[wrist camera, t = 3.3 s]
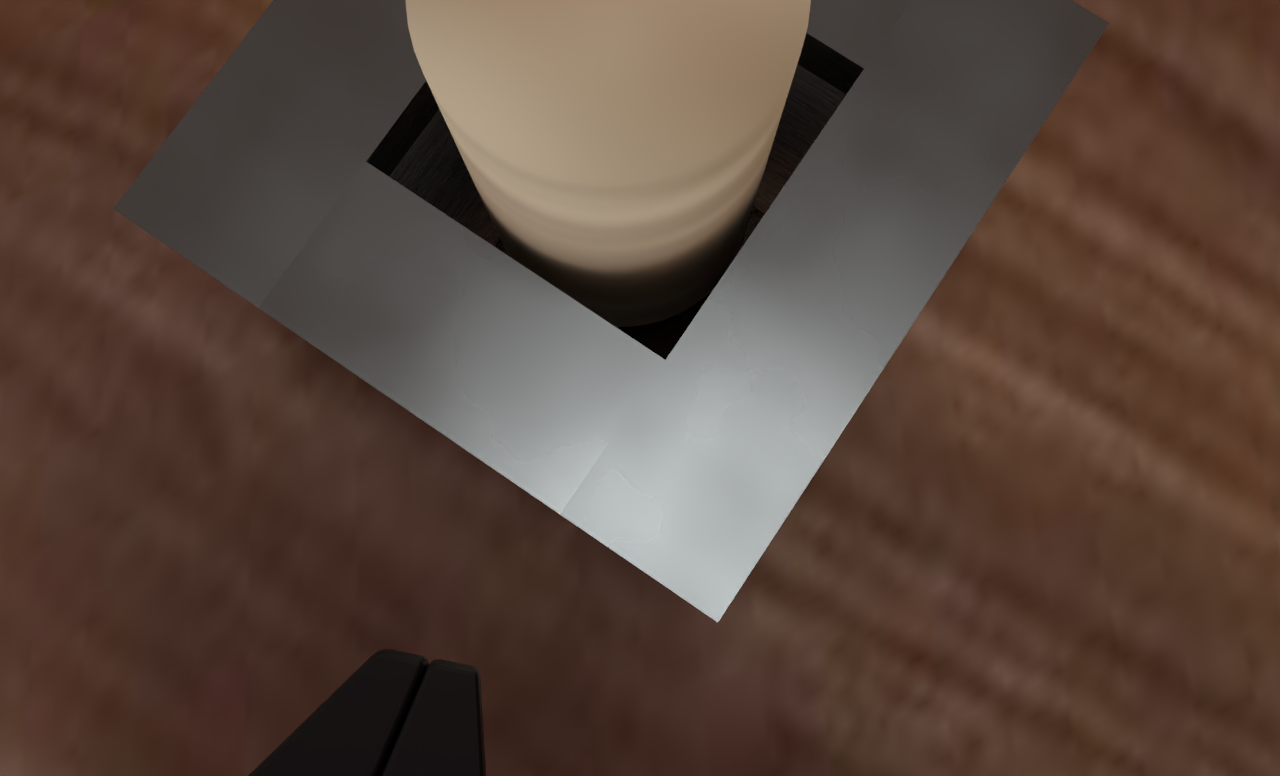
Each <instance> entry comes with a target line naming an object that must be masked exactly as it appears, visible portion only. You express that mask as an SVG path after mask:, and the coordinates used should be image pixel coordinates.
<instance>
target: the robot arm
mask: <svg viewBox="0 0 1280 776" xmlns="http://www.w3.org/2000/svg"><path fill="white" fill-rule="evenodd" d="M249 776H486V766H485V750H484V733H483V716H482V699H481V683H480V674H479V671H478V669H477V668H476V667H474V666H471V665H466V664H461V663H456V662H451V661H446V660H441V659H439V660H434V661H432V662H431V663H430V664H429V662H428V660H427V659H426V658H425V657H423V656H421V655H416V654H411V653H406V652H401V651H396V650H391V649H383V650H380V651H378V652H376V653H375V654H374V655H373V656H371V657H370V658H369V659H368V660H367V661H366V662H365V663H364V664H363V665H362V666H361V667H360V668H359V669H358V670H357V671H356V672H355V673H354V674H353V675H352V676H351V677H350V678H349V679H348V680H347V681H345V682H344V683H343V684H342V685H341V686H340V687H339V688H338V689H337V690H336V691H335V692H334V693H333V694H332V695H331V696H330V697H329V698H328V699H327V700H326V701H325V702H324V703H323V704H322V705H321V706H320V707H319V708H318V709H317V710H316V711H315V712H314V713H313V714H311V715H310V716H309V717H308V718H307V719H306V720H305V721H304V722H303V723H302V724H301V725H300V726H299V727H298V728H297V729H296V730H295V731H294V732H293V733H292V734H291V735H290V736H289V737H288V738H287V739H286V740H285V741H284V742H283V743H282V744H281V745H280V746H279V747H277V748H276V749H275V750H274V751H273V752H272V753H271V754H270V755H269V756H268V757H267V758H266V759H265V760H264V761H263V762H262V763H261V764H260V765H259V766H258V767H257V768H256V769H255V770H254V771H253V772H252V773H251V774H250V775H249Z"/></svg>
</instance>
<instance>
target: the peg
mask: <svg viewBox="0 0 1280 776" xmlns="http://www.w3.org/2000/svg"><path fill="white" fill-rule="evenodd" d="M810 5H811V0H406V11H407V21H408V28H409V32H410V36H411V40H412V44H413V48H414V52H415V54H416V57H417V59H418V62H419V64H420V67H421V69H422V72H423V74H424V76H425V78H426V81H427V83H428V85H429V87H430V89H431V91H432V94H433V96H434V98H435V100H436V102H437V104H438V107H439V109H440V111H441V113H442V115H443V117H444V119H445V122H446V124H447V126H448V128H449V130H450V132H451V135H452V137H453V139H454V141H455V143H456V145H457V148H458V150H459V152H460V154H461V156H462V158H463V161H464V163H465V165H466V167H467V169H468V171H469V173H470V176H471V178H472V180H473V182H474V184H475V186H476V189H477V191H478V193H479V195H480V197H481V199H482V202H483V204H484V206H485V208H486V210H487V212H488V214H489V217H490V219H491V221H492V223H493V225H494V227H495V230H496V232H497V234H498V236H499V238H500V240H501V243H502V245H503V247H504V249H505V251H506V253H507V255H508V256H509V257H511V258H512V259H514V260H515V261H517V262H518V263H520V264H521V265H523V266H524V267H526V268H527V269H529V270H530V271H532V272H533V273H535V274H537V275H538V276H540V277H541V278H543V279H544V280H546V281H547V282H549V283H550V284H552V285H553V286H555V287H556V288H558V289H559V290H561V291H562V292H564V293H565V294H567V295H568V296H570V297H571V298H573V299H574V300H576V301H577V302H579V303H580V304H582V305H583V306H585V307H586V308H588V309H589V310H591V311H592V312H594V313H595V314H597V315H598V316H600V317H601V318H603V319H604V320H606V321H607V322H609V323H610V324H612V325H613V326H615V327H633V326H641V325H647V324H651V323H655V322H659V321H663V320H665V319H668V318H670V317H673V316H675V315H678V314H680V313H681V312H683V311H685V310H687V309H688V308H690V307H692V306H693V305H695V304H696V303H697V302H699V301H700V300H701V299H703V298H704V297H705V296H707V295H708V294H709V293H710V292H711V291H712V290H713V289H714V288H715V287H716V285H717V284H718V282H719V281H720V279H721V278H722V276H723V275H724V273H725V272H726V270H727V269H728V268H729V266H730V265H731V263H732V262H733V260H734V259H735V257H736V256H737V254H738V251H739V249H740V246H741V244H742V241H743V238H744V235H745V231H746V228H747V225H748V222H749V219H750V215H751V212H752V209H753V206H754V202H755V199H756V196H757V193H758V190H759V186H760V183H761V180H762V177H763V173H764V170H765V167H766V164H767V160H768V157H769V154H770V151H771V148H772V144H773V141H774V138H775V135H776V131H777V128H778V125H779V122H780V119H781V115H782V112H783V109H784V106H785V102H786V99H787V96H788V93H789V90H790V86H791V83H792V80H793V77H794V73H795V70H796V67H797V64H798V61H799V57H800V54H801V51H802V47H803V43H804V39H805V36H806V32H807V28H808V21H809V13H810Z"/></svg>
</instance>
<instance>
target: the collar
mask: <svg viewBox="0 0 1280 776" xmlns="http://www.w3.org/2000/svg"><path fill="white" fill-rule="evenodd" d="M1108 24H1109V23H1108V22H1107V21H1105V20H1103V19H1102V18H1100V17H1098V16H1097V15H1095V14H1093V13H1092V12H1090V11H1088V10H1087V9H1085V8H1084V7H1082V6H1080V5H1079V4H1077V3H1075V2H1074V1H1072V0H811V5H810V13H809V21H808V28H807V32H806V36H805V39H804V43H803V47H802V51H801V54H800V57H799V61H798V64H797V67H796V70H795V73H794V77H793V80H792V83H791V86H790V90H789V93H788V96H787V99H786V102H785V106H784V109H783V112H782V115H781V119H780V122H779V125H778V128H777V131H776V135H775V138H774V141H773V144H772V148H771V151H770V154H769V157H768V160H767V164H766V167H765V170H764V173H763V177H762V180H761V183H760V186H759V190H758V193H757V196H756V199H755V202H754V206H753V207H754V208H755V209H757V210H758V211H760V212H761V213H763V214H764V216H763V218H762V219H761V221H760V222H759V224H758V225H757V226H756V228H755V229H754V231H753V232H752V234H751V235H750V237H749V238H748V240H747V241H746V243H745V244H744V246H743V247H742V248H741V250H740V251H739V253H738V254H737V256H736V257H735V259H734V260H733V262H732V263H731V265H730V266H729V268H728V269H727V270H726V272H725V273H724V275H723V276H722V278H721V279H720V281H719V282H718V284H717V285H716V287H715V288H714V289H713V291H712V292H711V294H710V295H709V297H708V298H707V300H706V301H705V303H704V304H703V306H702V307H701V309H700V310H699V311H698V313H697V314H696V316H695V317H694V319H693V320H692V322H691V323H690V325H689V326H688V328H687V329H686V331H685V332H684V333H683V335H682V336H681V338H680V339H679V341H678V342H677V344H676V345H675V347H674V348H673V350H672V351H671V353H670V354H669V355H668V357H667V358H666V360H665V359H663V358H662V357H660V356H659V355H657V354H656V353H654V352H653V351H651V350H650V349H648V348H647V347H645V346H644V345H642V344H641V343H639V342H637V341H636V340H634V339H633V338H631V337H630V336H628V335H627V334H625V333H624V332H622V331H621V330H619V329H618V328H616V327H615V326H613V325H612V324H610V323H609V322H607V321H606V320H604V319H603V318H601V317H600V316H598V315H597V314H595V313H594V312H592V311H591V310H589V309H588V308H586V307H585V306H583V305H582V304H580V303H579V302H577V301H576V300H574V299H573V298H571V297H570V296H568V295H567V294H565V293H564V292H562V291H561V290H559V289H558V288H556V287H555V286H553V285H552V284H550V283H549V282H547V281H546V280H544V279H543V278H541V277H540V276H538V275H537V274H535V273H533V272H532V271H530V270H529V269H527V268H526V267H524V266H523V265H521V264H520V263H518V262H517V261H515V260H514V259H512V258H511V257H509V256H508V255H506V254H505V253H503V252H502V251H500V250H499V249H497V248H496V247H495V245H496V244H497V242H498V241H499V240H500V238H499V236H498V234H497V232H496V230H495V227H494V225H493V223H492V221H491V219H490V217H489V214H488V212H487V210H486V208H485V206H484V204H483V202H482V199H481V197H480V195H479V193H478V191H477V189H476V186H475V184H474V182H473V180H472V178H471V176H470V173H469V171H468V169H467V167H466V165H465V163H464V161H463V158H462V156H461V154H460V152H459V150H458V148H457V145H456V143H455V141H454V139H453V137H452V135H451V132H450V130H449V128H448V126H447V124H446V122H445V119H444V117H443V115H442V113H441V111H440V109H439V107H438V104H437V102H436V100H435V98H434V96H433V94H432V91H431V89H430V87H429V85H428V83H427V81H426V78H425V76H424V74H423V72H422V69H421V67H420V64H419V62H418V59H417V57H416V54H415V52H414V48H413V44H412V40H411V36H410V32H409V28H408V21H407V11H406V0H273V2H272V3H271V4H270V5H269V7H268V8H267V9H266V11H265V12H264V13H263V15H262V16H261V17H260V18H259V20H258V21H257V22H256V24H255V25H254V26H253V28H252V29H251V30H250V31H249V33H248V34H247V35H246V37H245V38H244V39H243V41H242V42H241V43H240V44H239V46H238V47H237V48H236V50H235V51H234V52H233V54H232V55H231V56H230V57H229V59H228V60H227V61H226V63H225V64H224V65H223V67H222V68H221V69H220V70H219V72H218V73H217V74H216V76H215V77H214V78H213V80H212V81H211V82H210V83H209V85H208V86H207V87H206V89H205V90H204V91H203V93H202V94H201V95H200V96H199V98H198V99H197V100H196V102H195V103H194V104H193V106H192V107H191V108H190V110H189V111H188V112H187V113H186V115H185V116H184V117H183V119H182V120H181V121H180V123H179V124H178V125H177V126H176V128H175V129H174V130H173V132H172V133H171V134H170V136H169V137H168V138H167V139H166V141H165V142H164V143H163V145H162V146H161V147H160V149H159V150H158V151H157V152H156V154H155V155H154V156H153V158H152V159H151V160H150V162H149V163H148V164H147V165H146V167H145V168H144V169H143V171H142V172H141V173H140V175H139V176H138V177H137V178H136V180H135V181H134V182H133V184H132V185H131V186H130V188H129V189H128V190H127V191H126V193H125V194H124V195H123V197H122V198H121V199H120V201H119V202H118V203H117V204H116V206H115V207H114V208H113V209H115V210H116V211H117V212H119V213H120V214H122V215H123V216H125V217H126V218H128V219H129V220H131V221H132V222H134V223H135V224H136V225H138V226H139V227H141V228H142V229H144V230H145V231H147V232H148V233H150V234H151V235H153V236H154V237H155V238H157V239H158V240H160V241H161V242H163V243H164V244H166V245H167V246H169V247H170V248H172V249H173V250H174V251H176V252H177V253H179V254H180V255H182V256H183V257H185V258H186V259H188V260H189V261H191V262H192V263H193V264H195V265H196V266H198V267H199V268H201V269H202V270H204V271H205V272H207V273H208V274H210V275H211V276H212V277H214V278H215V279H217V280H218V281H220V282H221V283H223V284H224V285H226V286H227V287H229V288H230V289H231V290H233V291H234V292H236V293H237V294H239V295H240V296H242V297H243V298H245V299H246V300H248V301H249V302H250V303H252V304H253V305H255V306H256V307H258V308H259V309H261V310H262V311H264V312H265V313H266V314H268V315H269V316H271V317H272V318H274V319H275V320H277V321H278V322H280V323H281V324H283V325H284V326H285V327H287V328H288V329H290V330H291V331H293V332H294V333H296V334H297V335H299V336H300V337H302V338H303V339H304V340H306V341H307V342H309V343H310V344H312V345H313V346H315V347H316V348H318V349H319V350H321V351H322V352H323V353H325V354H326V355H328V356H329V357H331V358H332V359H334V360H335V361H337V362H338V363H340V364H341V365H342V366H344V367H345V368H347V369H348V370H350V371H351V372H353V373H354V374H356V375H357V376H359V377H360V378H361V379H363V380H364V381H366V382H367V383H369V384H370V385H372V386H373V387H375V388H376V389H378V390H379V391H380V392H382V393H383V394H385V395H386V396H388V397H389V398H391V399H392V400H394V401H395V402H397V403H398V404H399V405H401V406H402V407H404V408H405V409H407V410H408V411H410V412H411V413H413V414H414V415H416V416H417V417H418V418H420V419H421V420H423V421H424V422H426V423H427V424H429V425H430V426H432V427H433V428H435V429H436V430H437V431H439V432H440V433H442V434H443V435H445V436H446V437H448V438H449V439H451V440H452V441H454V442H455V443H456V444H458V445H459V446H461V447H462V448H464V449H465V450H467V451H468V452H470V453H471V454H472V455H474V456H475V457H477V458H478V459H480V460H481V461H483V462H484V463H486V464H487V465H489V466H490V467H491V468H493V469H494V470H496V471H497V472H499V473H500V474H502V475H503V476H505V477H506V478H508V479H509V480H510V481H512V482H513V483H515V484H516V485H518V486H519V487H521V488H522V489H524V490H525V491H527V492H528V493H529V494H531V495H532V496H534V497H535V498H537V499H538V500H540V501H541V502H543V503H544V504H546V505H547V506H548V507H550V508H551V509H553V510H554V511H556V512H557V513H559V514H560V515H562V516H563V517H565V518H566V519H567V520H569V521H570V522H572V523H573V524H575V525H576V526H578V527H579V528H581V529H582V530H584V531H585V532H586V533H588V534H589V535H591V536H592V537H594V538H595V539H597V540H598V541H600V542H601V543H603V544H604V545H605V546H607V547H608V548H610V549H611V550H613V551H614V552H616V553H617V554H619V555H620V556H622V557H623V558H624V559H626V560H627V561H629V562H630V563H632V564H633V565H635V566H636V567H638V568H639V569H641V570H642V571H643V572H645V573H646V574H648V575H649V576H651V577H652V578H654V579H655V580H657V581H658V582H660V583H661V584H662V585H664V586H665V587H667V588H668V589H670V590H671V591H673V592H674V593H676V594H677V595H678V596H680V597H681V598H683V599H684V600H686V601H687V602H689V603H690V604H692V605H693V606H695V607H696V608H697V609H699V610H700V611H702V612H703V613H705V614H706V615H708V616H709V617H711V618H712V619H714V620H715V621H716V622H718V621H719V620H720V618H721V617H722V615H723V614H724V612H725V611H726V609H727V608H728V606H729V605H730V603H731V602H732V600H733V598H734V597H735V595H736V594H737V592H738V591H739V589H740V588H741V586H742V585H743V583H744V582H745V580H746V579H747V577H748V576H749V574H750V572H751V571H752V569H753V568H754V566H755V565H756V563H757V562H758V560H759V559H760V557H761V556H762V554H763V553H764V551H765V549H766V548H767V546H768V545H769V543H770V542H771V540H772V539H773V537H774V536H775V534H776V533H777V531H778V530H779V528H780V526H781V525H782V523H783V522H784V520H785V519H786V517H787V516H788V514H789V513H790V511H791V510H792V508H793V507H794V505H795V504H796V502H797V500H798V499H799V497H800V496H801V494H802V493H803V491H804V490H805V488H806V487H807V485H808V484H809V482H810V481H811V479H812V477H813V476H814V474H815V473H816V471H817V470H818V468H819V467H820V465H821V464H822V462H823V461H824V459H825V458H826V456H827V454H828V453H829V451H830V450H831V448H832V447H833V445H834V444H835V442H836V441H837V439H838V438H839V436H840V435H841V433H842V431H843V430H844V428H845V427H846V425H847V424H848V422H849V421H850V419H851V418H852V416H853V415H854V413H855V412H856V410H857V409H858V407H859V405H860V404H861V402H862V401H863V399H864V398H865V396H866V395H867V393H868V392H869V390H870V389H871V387H872V386H873V384H874V382H875V381H876V379H877V378H878V376H879V375H880V373H881V372H882V370H883V369H884V367H885V366H886V364H887V363H888V361H889V359H890V358H891V356H892V355H893V353H894V352H895V350H896V349H897V347H898V346H899V344H900V343H901V341H902V340H903V338H904V337H905V335H906V333H907V332H908V330H909V329H910V327H911V326H912V324H913V323H914V321H915V320H916V318H917V317H918V315H919V314H920V312H921V310H922V309H923V307H924V306H925V304H926V303H927V301H928V300H929V298H930V297H931V295H932V294H933V292H934V291H935V289H936V287H937V286H938V284H939V283H940V281H941V280H942V278H943V277H944V275H945V274H946V272H947V271H948V269H949V268H950V266H951V265H952V263H953V261H954V260H955V258H956V257H957V255H958V254H959V252H960V251H961V249H962V248H963V246H964V245H965V243H966V242H967V240H968V238H969V237H970V235H971V234H972V232H973V231H974V229H975V228H976V226H977V225H978V223H979V222H980V220H981V219H982V217H983V215H984V214H985V212H986V211H987V209H988V208H989V206H990V205H991V203H992V202H993V200H994V199H995V197H996V196H997V194H998V192H999V191H1000V189H1001V188H1002V186H1003V185H1004V183H1005V182H1006V180H1007V179H1008V177H1009V176H1010V174H1011V173H1012V171H1013V170H1014V168H1015V166H1016V165H1017V163H1018V162H1019V160H1020V159H1021V157H1022V156H1023V154H1024V153H1025V151H1026V150H1027V148H1028V147H1029V145H1030V143H1031V142H1032V140H1033V139H1034V137H1035V136H1036V134H1037V133H1038V131H1039V130H1040V128H1041V127H1042V125H1043V124H1044V122H1045V120H1046V119H1047V117H1048V116H1049V114H1050V113H1051V111H1052V110H1053V108H1054V107H1055V105H1056V104H1057V102H1058V101H1059V99H1060V98H1061V96H1062V94H1063V93H1064V91H1065V90H1066V88H1067V87H1068V85H1069V84H1070V82H1071V81H1072V79H1073V78H1074V76H1075V75H1076V73H1077V71H1078V70H1079V68H1080V67H1081V65H1082V64H1083V62H1084V61H1085V59H1086V58H1087V56H1088V55H1089V53H1090V52H1091V50H1092V48H1093V47H1094V45H1095V44H1096V42H1097V41H1098V39H1099V38H1100V36H1101V35H1102V33H1103V32H1104V30H1105V29H1106V27H1107V26H1108Z"/></svg>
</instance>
